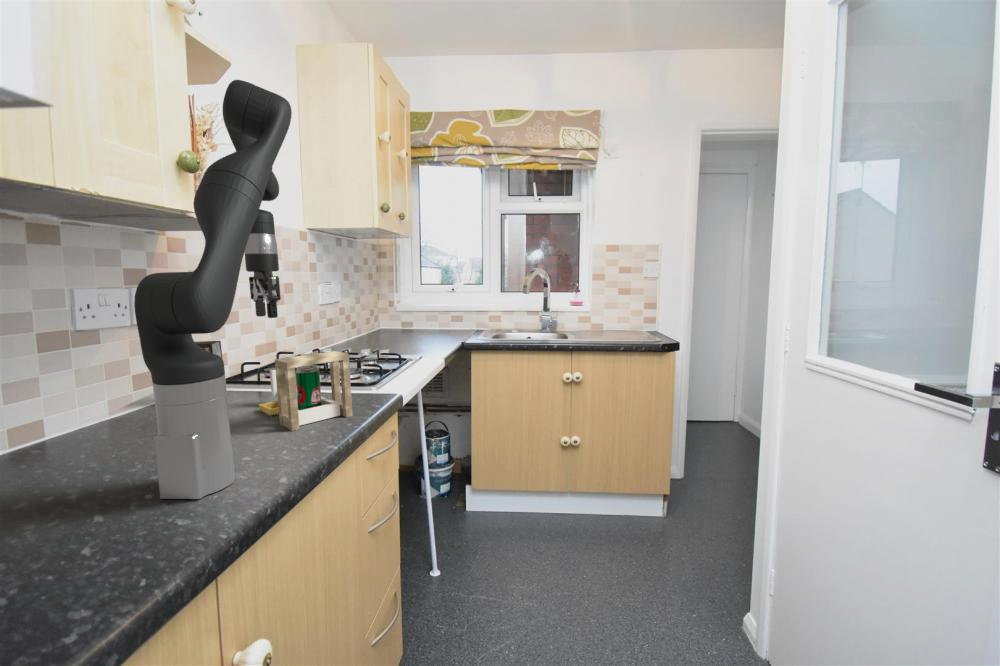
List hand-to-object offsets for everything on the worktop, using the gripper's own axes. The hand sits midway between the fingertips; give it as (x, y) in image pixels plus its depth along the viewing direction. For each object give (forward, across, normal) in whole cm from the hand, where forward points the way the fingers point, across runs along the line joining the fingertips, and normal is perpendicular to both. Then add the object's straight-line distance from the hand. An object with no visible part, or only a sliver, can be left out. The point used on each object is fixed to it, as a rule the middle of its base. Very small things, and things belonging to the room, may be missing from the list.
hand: (266, 316), depth 120 cm
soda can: (+22, -22, 0) cm, 32 cm away
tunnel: (+22, -26, 0) cm, 34 cm away
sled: (+22, -16, 0) cm, 27 cm away
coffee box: (+23, +13, +13) cm, 29 cm away
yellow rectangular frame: (+22, -11, 0) cm, 25 cm away
